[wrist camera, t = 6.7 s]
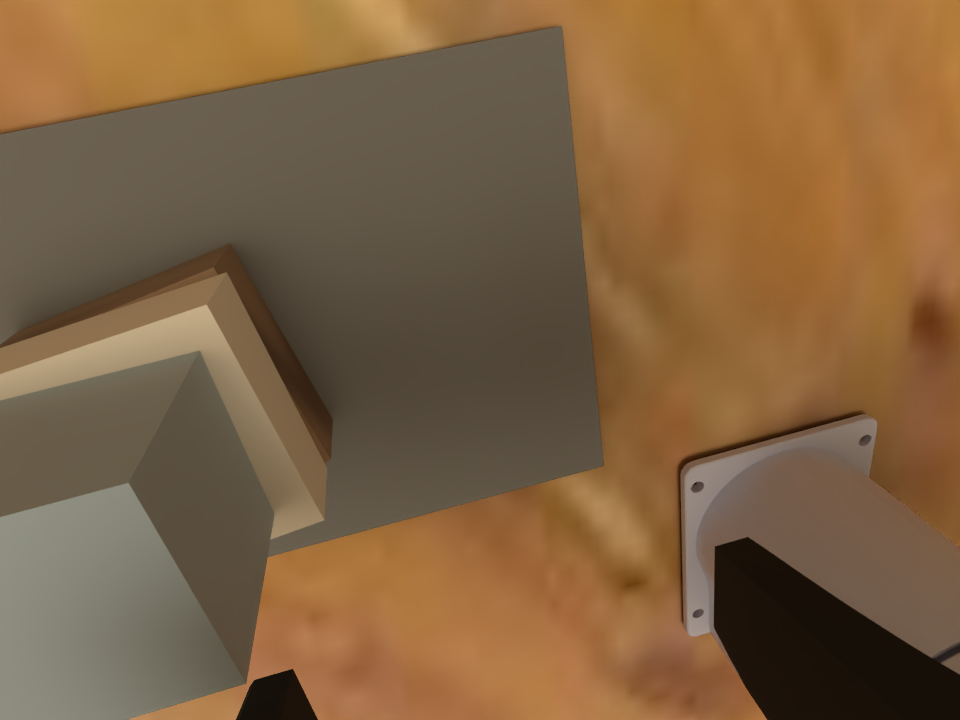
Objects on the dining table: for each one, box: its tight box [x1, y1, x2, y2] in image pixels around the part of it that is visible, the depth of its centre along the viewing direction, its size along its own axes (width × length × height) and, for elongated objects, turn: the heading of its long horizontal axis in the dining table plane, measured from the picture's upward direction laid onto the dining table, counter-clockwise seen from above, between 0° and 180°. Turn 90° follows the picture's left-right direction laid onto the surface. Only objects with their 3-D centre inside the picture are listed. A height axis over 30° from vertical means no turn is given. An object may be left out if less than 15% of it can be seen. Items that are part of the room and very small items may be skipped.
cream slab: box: [0, 272, 327, 540], centre depth 14 cm, size 6×6×2 cm
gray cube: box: [0, 351, 275, 720], centre depth 11 cm, size 4×4×4 cm
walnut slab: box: [0, 244, 333, 463], centre depth 16 cm, size 6×6×2 cm
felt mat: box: [0, 26, 604, 557], centre depth 18 cm, size 14×18×1 cm
